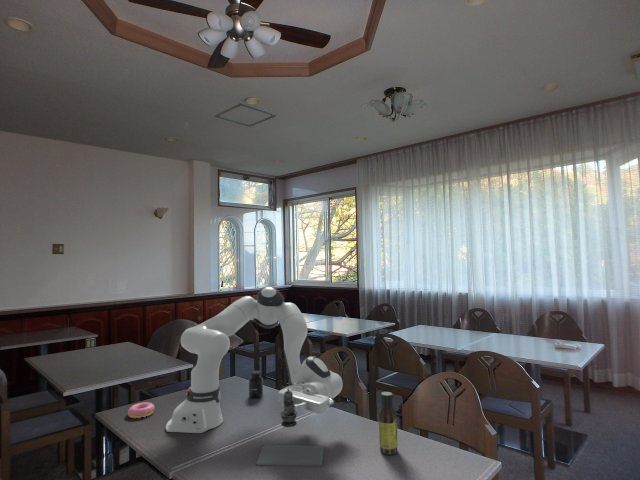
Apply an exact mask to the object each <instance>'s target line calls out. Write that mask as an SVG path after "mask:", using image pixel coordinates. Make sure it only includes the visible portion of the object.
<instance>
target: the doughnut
mask: <svg viewBox="0 0 640 480" xmlns="http://www.w3.org/2000/svg"><path fill="white" fill-rule="evenodd" d="M155 407H156V406H155V405H154V403H152V402H147V401H146V402H145V401H144V402H139V403H136V404H134V405H131V406H129V408H128V410H127V415H128V417H129V418H131V419H136V418H137V419H142V418H141V417H144V418H147V417H149V416H151V415H153V413H154V412H155V409H156V408H155ZM146 416H147V417H146Z"/></svg>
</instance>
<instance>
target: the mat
mask: <svg viewBox="0 0 640 480" xmlns="http://www.w3.org/2000/svg"><path fill="white" fill-rule="evenodd" d="M324 452H325V445H272V444H271V445H268V444H267V445H262V448H261V450H260V452H259V455H258V456H257V457H258V458H257V459H256V463H255V465H256V466H282V467H283V466H287V467H290V466H291V467H293V466H295V467H296V466H297V467H302V466H303V467H322V466H323V463H324V462H323V461H324Z"/></svg>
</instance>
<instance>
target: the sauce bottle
mask: <svg viewBox="0 0 640 480" xmlns="http://www.w3.org/2000/svg"><path fill="white" fill-rule="evenodd" d="M380 394H381V395H380V398H381V407H380V409H379V412H378V435H379V437H378V438H379V450H380V451H379V452H381V454H382V455H383V454H384V455H394V454H396V453H397V452H398V446H399V445H398V444H399V443H398V442H399V441H398V421H397V419H398V418H397V413H396V410H395V409H394V407H393V406H394V405H393V397H394V394H393V393H392V392H390V391H382V392H381V393H380Z"/></svg>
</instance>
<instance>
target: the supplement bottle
mask: <svg viewBox="0 0 640 480" xmlns="http://www.w3.org/2000/svg"><path fill="white" fill-rule="evenodd" d="M261 375H262V371H261V370H252V371H251V372H250V378H248V398H249V399H252V400H253V399H254V400H256V399H257V400H258V399H260V398H262V397H264V396H263V395H264V379H263V377H262V376H261Z"/></svg>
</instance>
